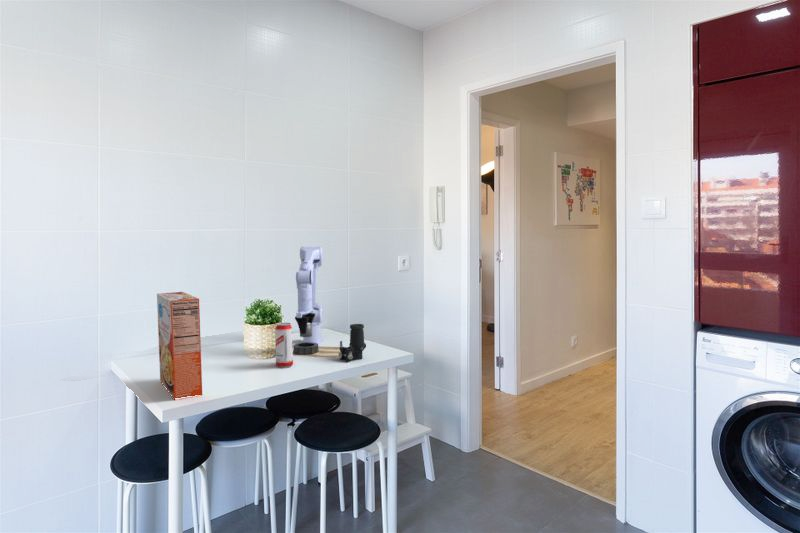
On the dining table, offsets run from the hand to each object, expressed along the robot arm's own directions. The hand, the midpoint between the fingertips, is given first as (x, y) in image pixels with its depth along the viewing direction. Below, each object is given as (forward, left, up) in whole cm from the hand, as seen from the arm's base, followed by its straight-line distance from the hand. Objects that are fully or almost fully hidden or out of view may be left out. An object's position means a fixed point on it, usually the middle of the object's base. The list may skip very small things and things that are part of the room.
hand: (305, 332), depth 207 cm
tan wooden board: (-2, +6, -9) cm, 11 cm away
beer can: (+20, -1, -9) cm, 22 cm away
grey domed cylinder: (0, 0, -2) cm, 2 cm away
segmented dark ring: (0, 0, -8) cm, 8 cm away
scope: (+8, +23, -9) cm, 26 cm away
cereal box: (+51, -24, -9) cm, 57 cm away
